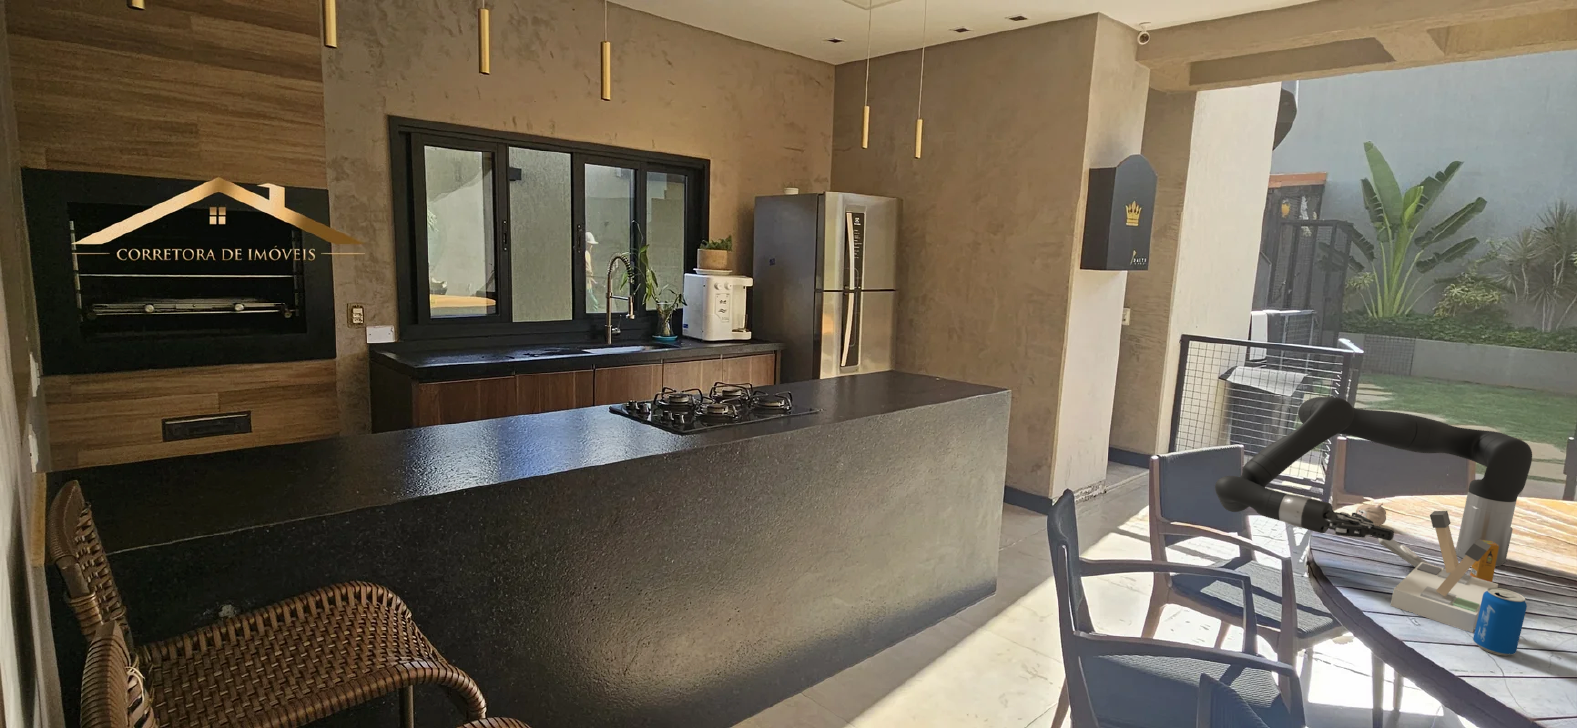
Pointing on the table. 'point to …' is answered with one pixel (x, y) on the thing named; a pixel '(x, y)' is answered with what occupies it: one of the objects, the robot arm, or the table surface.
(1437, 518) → the lever charcoal
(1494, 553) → the supplement box
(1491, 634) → the beverage can
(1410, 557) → the light switch
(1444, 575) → the switch unit
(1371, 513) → the brown hamster figurine
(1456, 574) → the tan lever
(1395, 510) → the table surface
